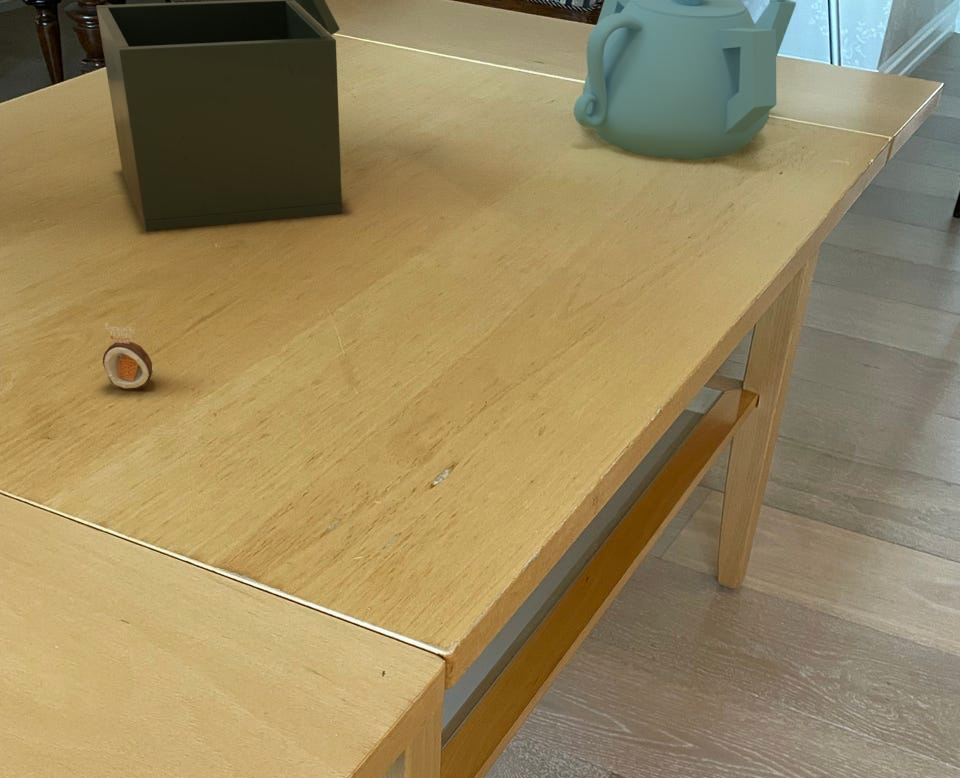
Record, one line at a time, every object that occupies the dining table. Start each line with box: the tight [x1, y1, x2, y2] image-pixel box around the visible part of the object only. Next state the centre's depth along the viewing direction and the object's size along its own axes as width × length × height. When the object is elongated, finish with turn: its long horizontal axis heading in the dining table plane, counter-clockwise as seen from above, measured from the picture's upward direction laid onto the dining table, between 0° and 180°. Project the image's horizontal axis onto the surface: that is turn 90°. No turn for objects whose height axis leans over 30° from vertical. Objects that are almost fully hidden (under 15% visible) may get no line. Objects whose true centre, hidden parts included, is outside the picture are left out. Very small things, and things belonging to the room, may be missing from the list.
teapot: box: [573, 0, 797, 160], centre depth 108 cm, size 19×19×14 cm
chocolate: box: [102, 322, 155, 390], centre depth 69 cm, size 3×2×4 cm
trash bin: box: [96, 0, 343, 232], centre depth 92 cm, size 16×14×13 cm
